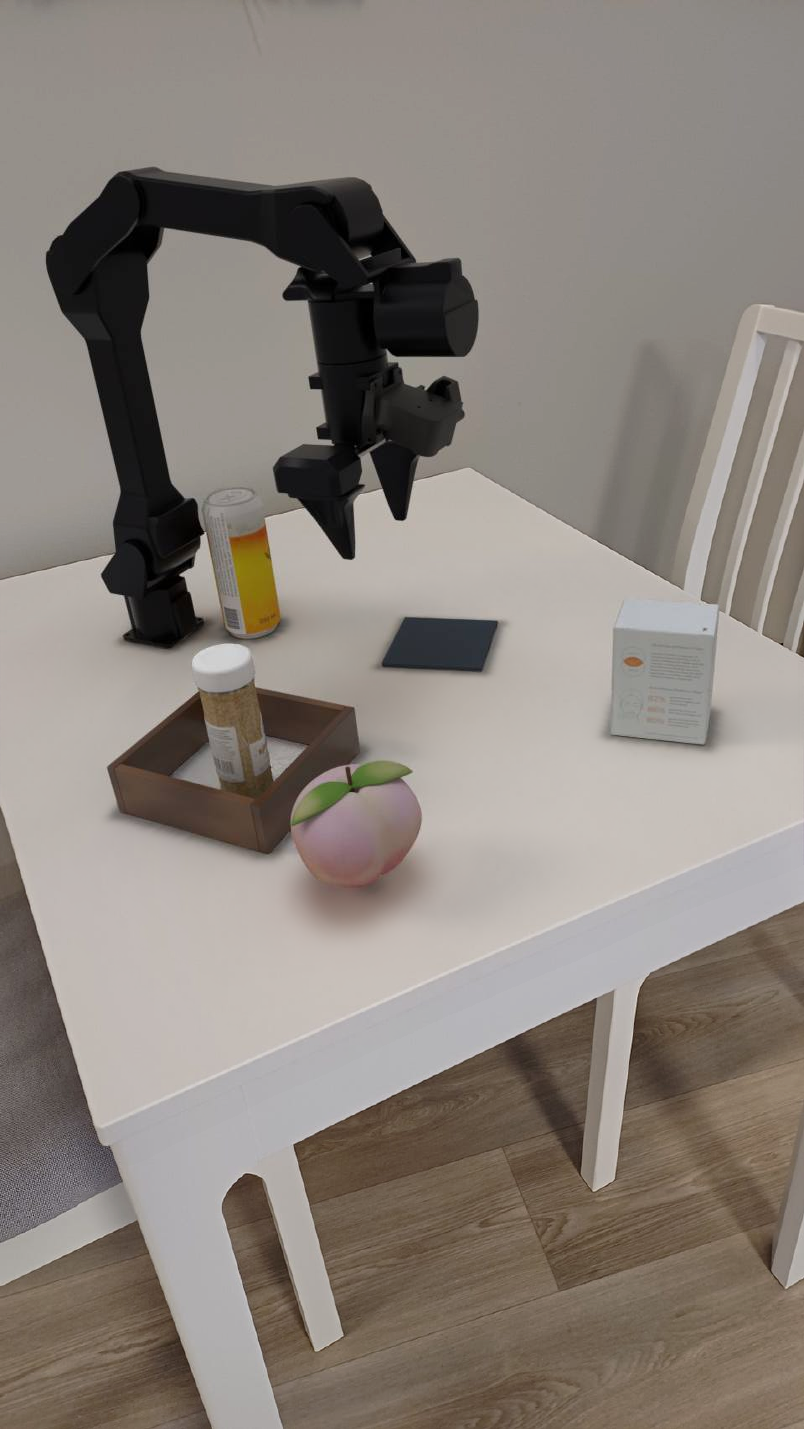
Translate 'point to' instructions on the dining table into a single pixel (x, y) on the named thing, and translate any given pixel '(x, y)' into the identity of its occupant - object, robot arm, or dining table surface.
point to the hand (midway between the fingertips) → (375, 538)
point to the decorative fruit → (356, 822)
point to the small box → (663, 670)
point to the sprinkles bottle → (233, 718)
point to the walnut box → (220, 812)
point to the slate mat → (441, 644)
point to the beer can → (241, 560)
